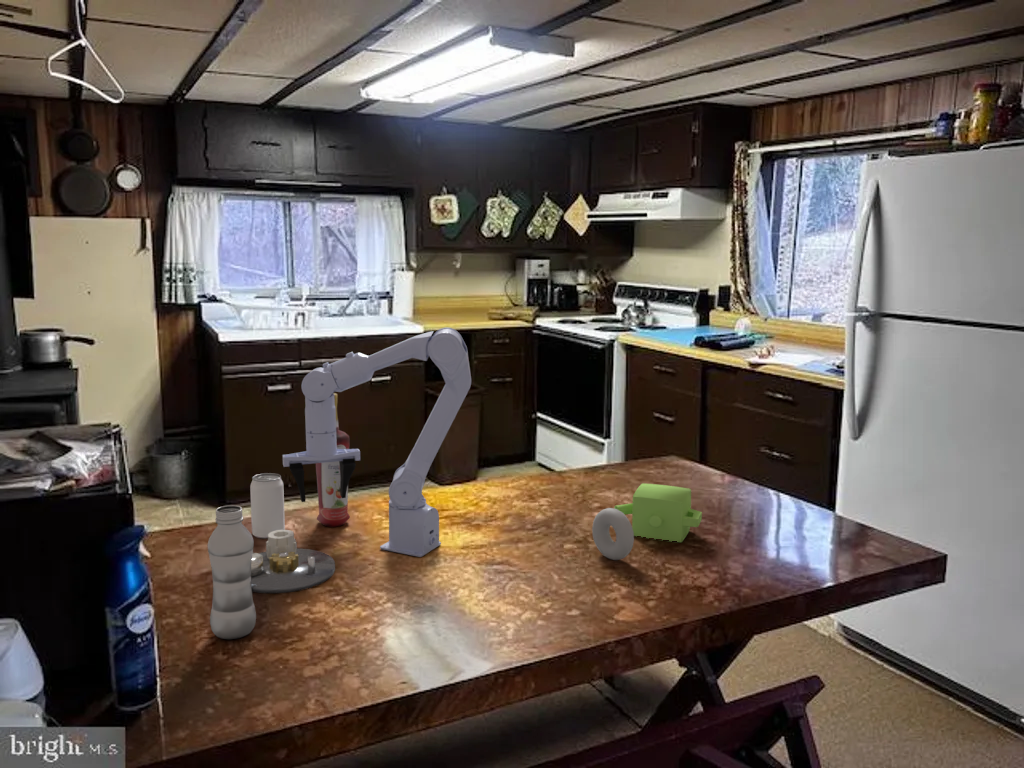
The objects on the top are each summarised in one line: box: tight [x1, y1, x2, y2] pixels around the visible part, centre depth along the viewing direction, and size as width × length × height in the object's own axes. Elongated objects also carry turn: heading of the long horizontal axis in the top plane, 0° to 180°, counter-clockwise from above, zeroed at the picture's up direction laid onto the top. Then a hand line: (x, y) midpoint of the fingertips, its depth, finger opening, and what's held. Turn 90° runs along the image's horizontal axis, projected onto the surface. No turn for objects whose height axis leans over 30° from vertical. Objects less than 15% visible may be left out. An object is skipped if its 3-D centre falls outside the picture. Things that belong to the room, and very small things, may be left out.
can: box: [249, 472, 286, 539], centre depth 166 cm, size 6×6×12 cm
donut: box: [591, 507, 635, 561], centre depth 157 cm, size 10×4×10 cm, turn 37°
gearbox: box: [614, 483, 703, 543], centre depth 170 cm, size 18×10×10 cm, turn 67°
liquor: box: [315, 392, 351, 528], centre depth 171 cm, size 7×7×28 cm
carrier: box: [250, 548, 336, 594], centre depth 147 cm, size 19×20×4 cm
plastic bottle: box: [207, 504, 257, 640], centre depth 123 cm, size 6×7×20 cm
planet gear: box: [265, 529, 298, 558], centre depth 154 cm, size 6×5×4 cm
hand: (323, 498), depth 159 cm, fingers open, 7 cm apart
